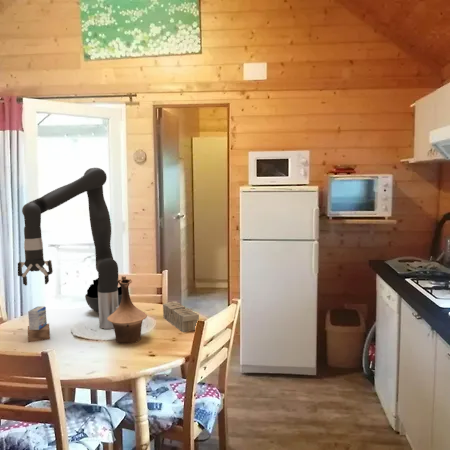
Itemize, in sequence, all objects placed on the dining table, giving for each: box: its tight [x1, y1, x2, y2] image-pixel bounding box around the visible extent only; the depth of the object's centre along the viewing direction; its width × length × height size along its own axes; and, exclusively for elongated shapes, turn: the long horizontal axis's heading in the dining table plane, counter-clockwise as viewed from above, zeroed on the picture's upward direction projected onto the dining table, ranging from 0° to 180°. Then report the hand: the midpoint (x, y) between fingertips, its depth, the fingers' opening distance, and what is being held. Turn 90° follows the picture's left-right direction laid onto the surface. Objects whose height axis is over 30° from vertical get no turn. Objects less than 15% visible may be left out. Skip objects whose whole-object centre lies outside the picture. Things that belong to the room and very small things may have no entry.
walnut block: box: [27, 323, 51, 343], centre depth 218 cm, size 9×9×5 cm
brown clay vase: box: [107, 275, 148, 345], centre depth 212 cm, size 18×17×28 cm
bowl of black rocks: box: [84, 278, 122, 314], centre depth 256 cm, size 20×20×19 cm
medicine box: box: [27, 306, 48, 330], centre depth 217 cm, size 8×4×9 cm, turn 174°
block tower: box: [162, 300, 200, 333], centre depth 235 cm, size 8×8×29 cm
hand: (36, 284), depth 216 cm, fingers open, 8 cm apart
